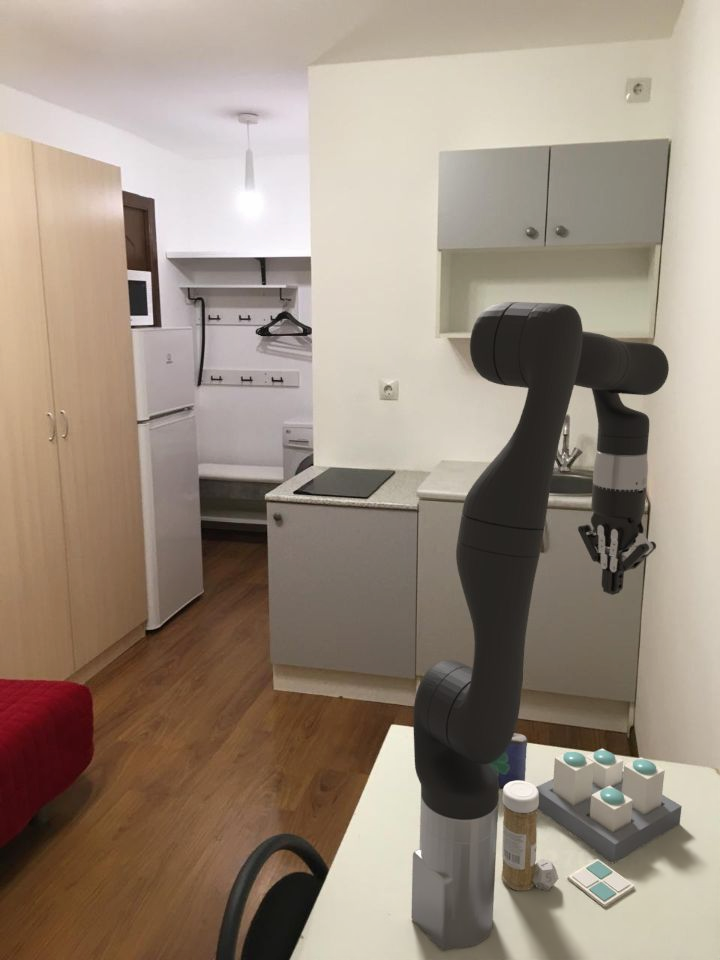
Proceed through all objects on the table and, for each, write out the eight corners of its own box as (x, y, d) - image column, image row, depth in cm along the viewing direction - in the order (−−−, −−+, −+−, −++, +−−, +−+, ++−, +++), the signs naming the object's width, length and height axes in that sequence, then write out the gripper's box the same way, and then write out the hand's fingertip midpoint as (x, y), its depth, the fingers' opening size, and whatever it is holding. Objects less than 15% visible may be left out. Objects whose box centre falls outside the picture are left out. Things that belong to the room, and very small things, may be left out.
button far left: (603, 804, 116) (606, 766, 115) (582, 790, 119) (585, 754, 118) (620, 795, 118) (623, 758, 117) (599, 782, 122) (602, 746, 120)
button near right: (611, 847, 107) (614, 807, 105) (588, 831, 110) (591, 792, 109) (629, 837, 109) (633, 797, 107) (606, 821, 112) (609, 783, 111)
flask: (526, 786, 121) (529, 725, 119) (520, 796, 119) (524, 734, 116) (472, 769, 125) (474, 710, 123) (465, 778, 123) (467, 718, 121)
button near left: (573, 807, 112) (576, 768, 110) (552, 793, 115) (555, 755, 114) (591, 798, 114) (594, 759, 113) (570, 784, 117) (573, 747, 116)
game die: (564, 888, 99) (564, 868, 99) (541, 898, 98) (542, 878, 97) (545, 871, 102) (546, 851, 102) (524, 880, 101) (524, 861, 100)
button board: (613, 863, 104) (615, 844, 103) (532, 805, 116) (533, 788, 116) (679, 823, 112) (681, 806, 111) (597, 773, 124) (598, 757, 124)
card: (604, 907, 96) (604, 903, 96) (567, 878, 101) (567, 875, 101) (634, 888, 100) (634, 884, 99) (597, 861, 104) (597, 857, 104)
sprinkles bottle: (543, 884, 100) (546, 793, 97) (516, 897, 98) (519, 804, 95) (519, 862, 104) (522, 774, 101) (493, 875, 102) (495, 785, 99)
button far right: (643, 816, 110) (647, 776, 109) (620, 801, 113) (624, 763, 112) (660, 806, 112) (664, 767, 111) (637, 792, 115) (641, 754, 114)
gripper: (567, 476, 115) (561, 584, 119) (641, 494, 104) (632, 612, 108) (600, 470, 119) (593, 575, 123) (675, 486, 108) (665, 601, 112)
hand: (611, 592), depth 116 cm, fingers closed
